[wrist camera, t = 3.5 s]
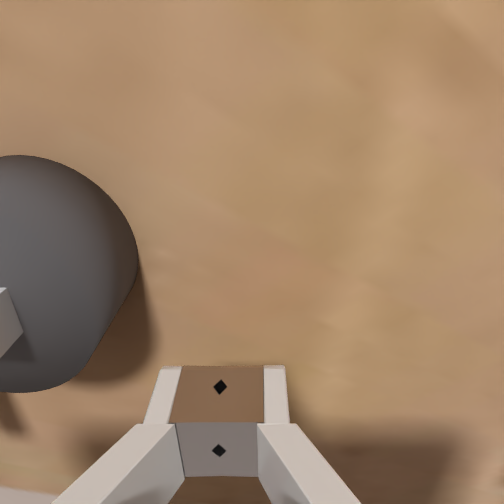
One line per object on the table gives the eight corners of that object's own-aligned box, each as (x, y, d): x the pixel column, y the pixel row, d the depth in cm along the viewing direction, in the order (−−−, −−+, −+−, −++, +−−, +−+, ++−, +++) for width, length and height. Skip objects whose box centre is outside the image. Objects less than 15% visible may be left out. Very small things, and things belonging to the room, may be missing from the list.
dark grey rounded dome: (123, 156, 12) (35, 217, 8) (149, 320, 16) (99, 430, 11) (-77, 152, 13) (-274, 209, 8) (-9, 314, 16) (-121, 418, 11)
